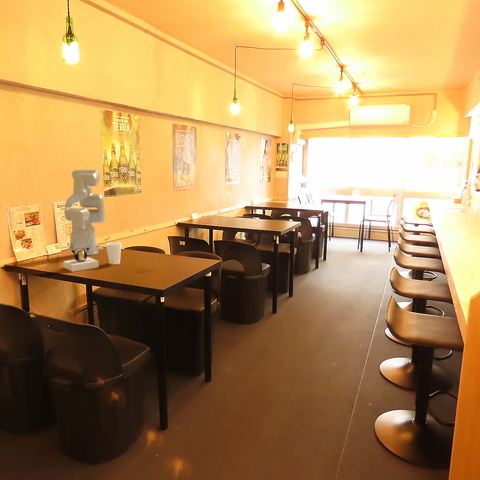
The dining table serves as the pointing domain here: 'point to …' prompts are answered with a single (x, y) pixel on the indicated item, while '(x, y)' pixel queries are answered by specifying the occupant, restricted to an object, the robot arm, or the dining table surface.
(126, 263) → the dining table surface
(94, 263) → the plate
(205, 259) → the dining table surface
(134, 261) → the dining table surface
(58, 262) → the dining table surface
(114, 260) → the foam cup
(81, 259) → the brass sleeve
